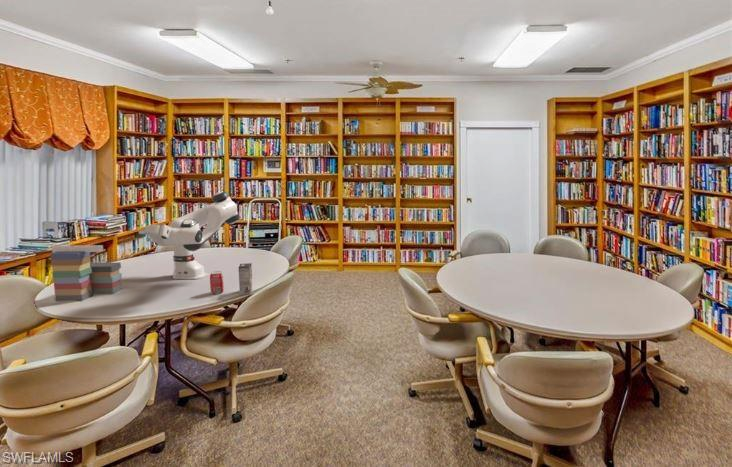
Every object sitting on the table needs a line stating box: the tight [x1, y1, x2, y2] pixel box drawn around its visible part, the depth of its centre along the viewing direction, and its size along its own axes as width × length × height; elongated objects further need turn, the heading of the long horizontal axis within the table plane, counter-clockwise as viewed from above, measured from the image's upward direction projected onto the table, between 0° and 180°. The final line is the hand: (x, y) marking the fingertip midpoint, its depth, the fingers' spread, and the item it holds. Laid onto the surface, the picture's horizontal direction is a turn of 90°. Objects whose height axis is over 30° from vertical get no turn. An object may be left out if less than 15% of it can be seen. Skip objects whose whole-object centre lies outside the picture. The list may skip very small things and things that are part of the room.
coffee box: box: [238, 262, 253, 295], centre depth 233 cm, size 9×6×16 cm
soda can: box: [209, 270, 225, 295], centre depth 232 cm, size 7×7×12 cm
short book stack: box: [89, 262, 123, 295], centre depth 233 cm, size 16×10×16 cm, turn 94°
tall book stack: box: [49, 252, 94, 302], centre depth 220 cm, size 14×10×26 cm
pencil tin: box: [51, 244, 104, 253], centre depth 218 cm, size 24×4×3 cm, turn 94°
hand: (143, 236), depth 218 cm, fingers open, 8 cm apart
